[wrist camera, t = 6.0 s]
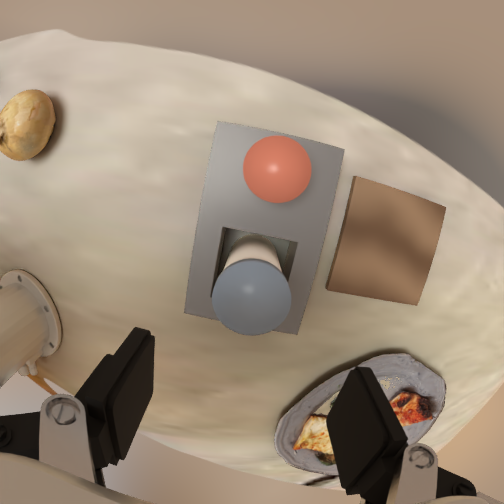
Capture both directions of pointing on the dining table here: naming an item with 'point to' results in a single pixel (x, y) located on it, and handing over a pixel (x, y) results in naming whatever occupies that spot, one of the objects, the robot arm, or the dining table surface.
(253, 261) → the cylinder
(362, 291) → the pad
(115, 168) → the dining table surface
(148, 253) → the dining table surface
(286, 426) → the food plate
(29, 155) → the onion
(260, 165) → the red round-topped peg
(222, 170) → the housing
